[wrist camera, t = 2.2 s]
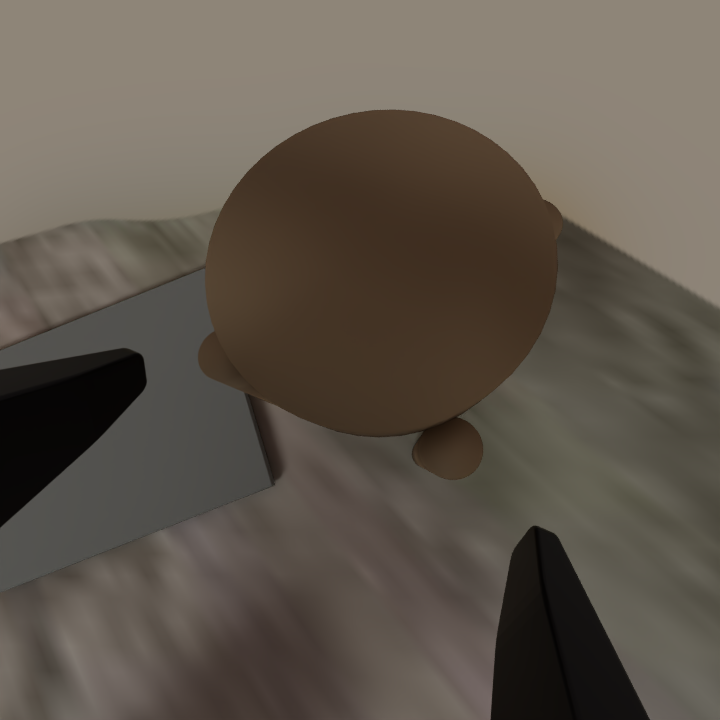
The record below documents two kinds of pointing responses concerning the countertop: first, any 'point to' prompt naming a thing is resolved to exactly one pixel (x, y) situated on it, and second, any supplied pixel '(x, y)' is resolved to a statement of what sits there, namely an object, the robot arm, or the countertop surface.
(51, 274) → the countertop surface
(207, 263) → the stool
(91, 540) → the mat
